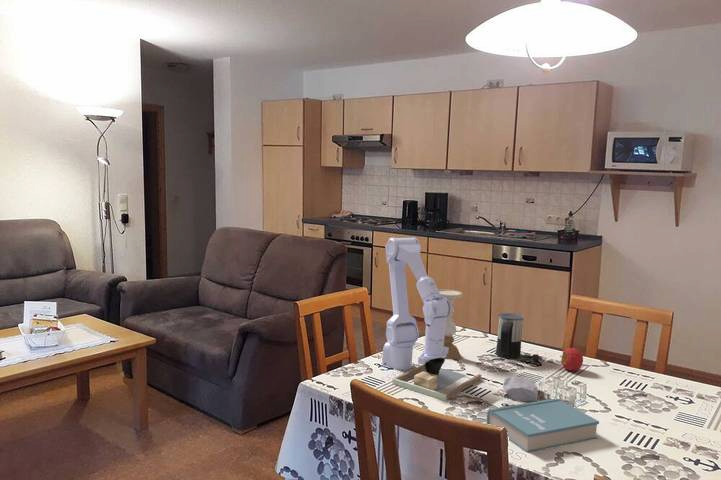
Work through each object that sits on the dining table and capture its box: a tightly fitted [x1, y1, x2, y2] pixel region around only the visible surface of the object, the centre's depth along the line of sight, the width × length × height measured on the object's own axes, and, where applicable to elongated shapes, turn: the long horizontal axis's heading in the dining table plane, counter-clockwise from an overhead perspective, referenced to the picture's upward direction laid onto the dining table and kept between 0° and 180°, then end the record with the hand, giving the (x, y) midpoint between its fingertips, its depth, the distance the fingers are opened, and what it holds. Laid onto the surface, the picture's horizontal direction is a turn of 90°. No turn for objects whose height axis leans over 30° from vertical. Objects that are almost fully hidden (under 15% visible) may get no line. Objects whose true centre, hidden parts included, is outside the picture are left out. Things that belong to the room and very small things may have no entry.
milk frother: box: [495, 312, 543, 363], centre depth 204 cm, size 14×16×15 cm
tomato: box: [559, 347, 584, 372], centre depth 194 cm, size 8×8×8 cm
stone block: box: [502, 376, 539, 402], centre depth 172 cm, size 12×5×10 cm
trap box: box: [392, 364, 482, 402], centre depth 174 cm, size 18×23×3 cm
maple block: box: [413, 370, 438, 390], centre depth 168 cm, size 5×5×4 cm
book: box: [485, 398, 600, 453], centre depth 146 cm, size 23×16×5 cm
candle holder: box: [438, 288, 464, 360], centre depth 200 cm, size 11×11×24 cm
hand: (432, 381), depth 172 cm, fingers closed
